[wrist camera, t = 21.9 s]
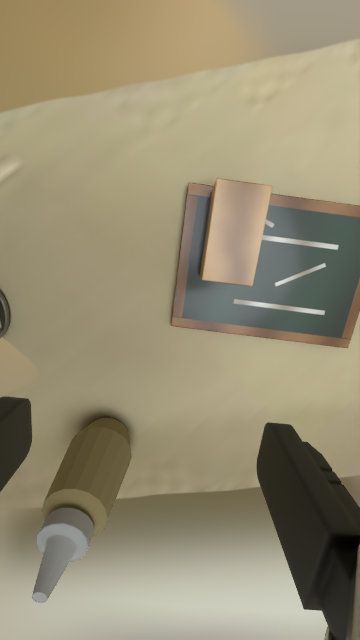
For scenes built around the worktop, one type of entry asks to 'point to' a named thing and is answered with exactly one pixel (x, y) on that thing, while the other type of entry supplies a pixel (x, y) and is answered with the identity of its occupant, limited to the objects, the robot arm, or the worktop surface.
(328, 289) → the chalkboard
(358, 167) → the worktop surface
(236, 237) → the eraser
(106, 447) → the squeeze bottle
